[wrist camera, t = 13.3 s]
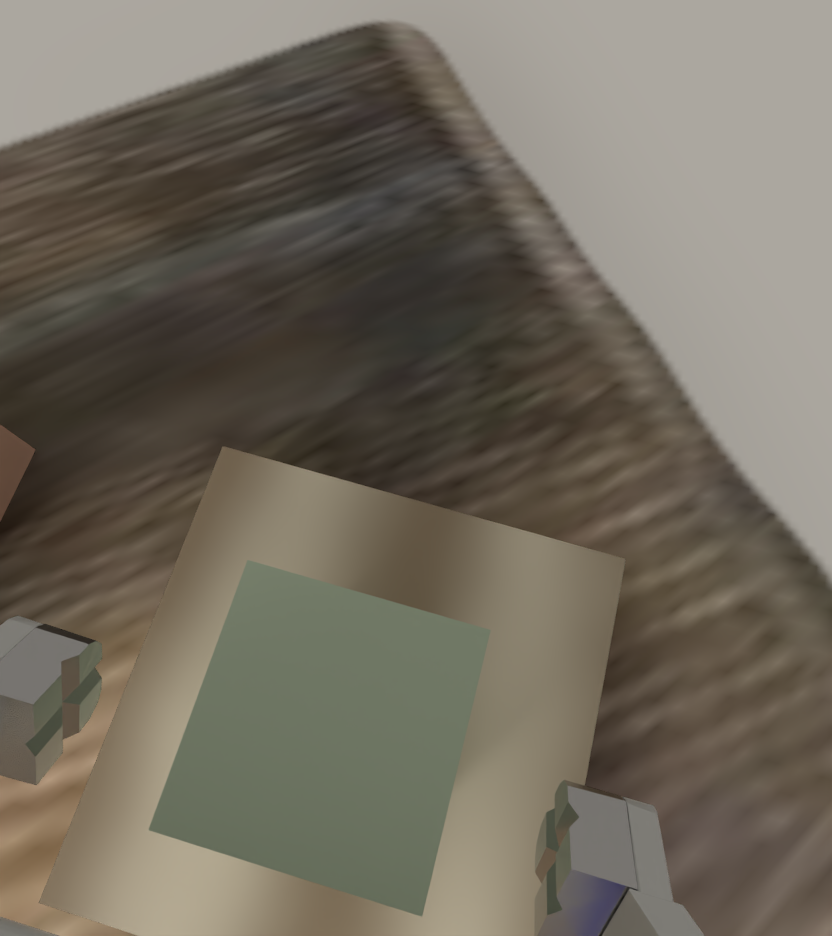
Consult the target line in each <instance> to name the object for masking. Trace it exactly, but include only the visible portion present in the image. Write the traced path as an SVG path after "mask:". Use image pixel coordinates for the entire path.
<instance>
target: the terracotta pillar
mask: <svg viewBox="0 0 832 936" xmlns="http://www.w3.org/2000/svg"><path fill="white" fill-rule="evenodd" d="M35 450H36V449H34V448H33V447H31V446H30V445H29V444H27V443H26V442H24V441H23V440H21V439H20V438H19V437H17V436H16V435H14V434H13V433H12V432H10V431H9V430H7V429H6V428H5V427H3V426H2V425H0V521H1V519H2V517H3V515H4V513H5V511H6V509H7V507H8V505H9V503H10V501H11V499H12V497H13V495H14V493H15V491H16V489H17V487H18V485H19V483H20V481H21V479H22V477H23V475H24V473H25V471H26V469H27V467H28V465H29V463H30V461H31V458H32V456H33V454H34V452H35Z"/></svg>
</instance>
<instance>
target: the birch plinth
mask: <svg viewBox="0 0 832 936" xmlns="http://www.w3.org/2000/svg"><path fill="white" fill-rule="evenodd" d="M247 560H250V561H253V562H257V563H260V564H264V565H267V566H271V567H274V568H278V569H281V570H285V571H288V572H291V573H295V574H298V575H302V576H305V577H309V578H312V579H316V580H319V581H323V582H326V583H330V584H333V585H337V586H340V587H343V588H347V589H350V590H354V591H357V592H361V593H364V594H368V595H371V596H375V597H378V598H382V599H385V600H389V601H392V602H395V603H399V604H402V605H406V606H409V607H413V608H416V609H420V610H423V611H427V612H430V613H434V614H437V615H441V616H444V617H447V618H451V619H454V620H458V621H461V622H465V623H468V624H472V625H475V626H479V627H482V628H486V629H489V630H491V631H490V635H489V639H488V643H487V648H486V652H485V656H484V660H483V664H482V668H481V673H480V677H479V681H478V685H477V689H476V694H475V698H474V702H473V706H472V710H471V714H470V719H469V723H468V727H467V731H466V735H465V740H464V744H463V748H462V752H461V756H460V760H459V765H458V769H457V773H456V777H455V781H454V785H453V790H452V794H451V798H450V802H449V806H448V811H447V815H446V819H445V823H444V827H443V831H442V836H441V840H440V844H439V848H438V852H437V857H436V861H435V865H434V869H433V873H432V877H431V882H430V886H429V890H428V894H427V898H426V902H425V907H424V911H423V915H422V917H421V916H418V915H415V914H412V913H409V912H405V911H402V910H399V909H396V908H393V907H390V906H386V905H383V904H380V903H377V902H374V901H371V900H368V899H364V898H361V897H358V896H355V895H352V894H349V893H345V892H342V891H339V890H336V889H333V888H330V887H326V886H323V885H320V884H317V883H314V882H311V881H307V880H304V879H301V878H298V877H295V876H292V875H288V874H285V873H282V872H279V871H276V870H273V869H270V868H266V867H263V866H260V865H257V864H254V863H251V862H247V861H244V860H241V859H238V858H235V857H232V856H228V855H225V854H222V853H219V852H216V851H213V850H209V849H206V848H203V847H200V846H197V845H194V844H191V843H187V842H184V841H181V840H178V839H175V838H172V837H168V836H165V835H162V834H159V833H156V832H153V831H149V827H150V824H151V821H152V819H153V816H154V813H155V810H156V808H157V805H158V802H159V800H160V797H161V794H162V791H163V789H164V786H165V783H166V781H167V778H168V775H169V772H170V770H171V767H172V764H173V761H174V759H175V756H176V753H177V751H178V748H179V745H180V742H181V740H182V737H183V734H184V732H185V729H186V726H187V723H188V721H189V718H190V715H191V712H192V710H193V707H194V704H195V702H196V699H197V696H198V693H199V691H200V688H201V685H202V683H203V680H204V677H205V674H206V672H207V669H208V666H209V663H210V661H211V658H212V655H213V653H214V650H215V647H216V644H217V642H218V639H219V636H220V634H221V631H222V628H223V625H224V623H225V620H226V617H227V614H228V612H229V609H230V606H231V604H232V601H233V598H234V595H235V593H236V590H237V587H238V585H239V582H240V579H241V576H242V574H243V571H244V568H245V565H246V563H247ZM625 562H626V559H625V558H621V557H617V556H614V555H610V554H607V553H603V552H599V551H596V550H592V549H589V548H585V547H582V546H578V545H574V544H571V543H567V542H564V541H560V540H557V539H553V538H549V537H546V536H542V535H539V534H535V533H532V532H528V531H524V530H521V529H517V528H514V527H510V526H507V525H503V524H499V523H496V522H492V521H489V520H485V519H481V518H478V517H474V516H471V515H467V514H464V513H460V512H456V511H453V510H449V509H446V508H442V507H439V506H435V505H431V504H428V503H424V502H421V501H417V500H414V499H410V498H406V497H403V496H399V495H396V494H392V493H388V492H385V491H381V490H378V489H374V488H371V487H367V486H363V485H360V484H356V483H353V482H349V481H346V480H342V479H338V478H335V477H331V476H328V475H324V474H321V473H317V472H313V471H310V470H306V469H303V468H299V467H295V466H292V465H288V464H285V463H281V462H278V461H274V460H270V459H267V458H263V457H260V456H256V455H253V454H249V453H245V452H242V451H238V450H235V449H231V448H228V447H224V446H223V447H222V449H221V452H220V454H219V457H218V459H217V462H216V464H215V467H214V469H213V472H212V474H211V477H210V479H209V482H208V484H207V487H206V489H205V492H204V494H203V497H202V499H201V502H200V504H199V507H198V509H197V511H196V514H195V516H194V519H193V521H192V524H191V526H190V529H189V531H188V534H187V536H186V539H185V541H184V544H183V546H182V549H181V551H180V554H179V556H178V559H177V561H176V564H175V566H174V569H173V571H172V574H171V576H170V578H169V581H168V583H167V586H166V588H165V591H164V593H163V596H162V598H161V601H160V603H159V606H158V608H157V611H156V613H155V616H154V618H153V621H152V623H151V626H150V628H149V631H148V633H147V636H146V638H145V640H144V643H143V645H142V648H141V650H140V653H139V655H138V658H137V660H136V663H135V665H134V668H133V670H132V673H131V675H130V678H129V680H128V683H127V685H126V688H125V690H124V693H123V695H122V698H121V700H120V703H119V705H118V707H117V710H116V712H115V715H114V717H113V720H112V722H111V725H110V727H109V730H108V732H107V735H106V737H105V740H104V742H103V745H102V747H101V750H100V752H99V755H98V757H97V760H96V762H95V765H94V767H93V769H92V772H91V774H90V777H89V779H88V782H87V784H86V787H85V789H84V792H83V794H82V797H81V799H80V802H79V804H78V807H77V809H76V812H75V814H74V817H73V819H72V822H71V824H70V827H69V829H68V831H67V834H66V836H65V839H64V841H63V844H62V846H61V849H60V851H59V854H58V856H57V859H56V861H55V864H54V866H53V869H52V871H51V874H50V876H49V879H48V881H47V884H46V886H45V889H44V891H43V894H42V896H41V898H40V901H39V903H40V904H43V905H46V906H49V907H52V908H56V909H59V910H62V911H65V912H68V913H71V914H74V915H77V916H80V917H83V918H86V919H89V920H92V921H95V922H98V923H101V924H104V925H107V926H110V927H114V928H117V929H120V930H123V931H126V932H129V933H132V934H135V935H138V936H534V920H535V897H536V895H537V893H538V890H539V888H540V886H541V884H542V883H541V882H540V880H539V878H538V876H537V875H536V873H535V853H536V844H537V839H538V835H539V831H540V827H541V824H542V821H543V819H544V817H545V814H546V812H548V811H550V810H552V809H554V808H555V792H556V790H557V788H558V786H559V784H560V783H561V782H562V781H563V780H567V781H571V782H574V783H578V784H581V785H585V781H586V776H587V770H588V765H589V759H590V754H591V748H592V743H593V737H594V732H595V726H596V721H597V715H598V710H599V704H600V699H601V694H602V688H603V683H604V677H605V672H606V666H607V661H608V655H609V650H610V644H611V639H612V633H613V628H614V622H615V617H616V611H617V606H618V600H619V595H620V589H621V584H622V578H623V573H624V567H625Z"/></svg>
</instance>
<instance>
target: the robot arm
mask: <svg viewBox="0 0 832 936" xmlns="http://www.w3.org/2000/svg"><path fill="white" fill-rule="evenodd" d="M101 659H102V644H101V643H99V642H98V641H96V640H92V639H89V638H86V637H83V636H80V635H77V634H74V633H71V632H68V631H65V630H62V629H59V628H56V627H53V626H50V625H47V624H42V623H39V622H36V621H33V620H30V619H27V618H24V617H21V616H15V617H12V618H10V619H8V620H6V621H5V622H4V623H3V624H1V625H0V775H1V776H5V777H8V778H12V779H16V780H19V781H23V782H26V783H30V784H34V785H37V784H38V783H39V782H40V780H41V779H42V778H43V777H44V775H45V774H46V773H47V772H48V770H49V769H50V768H51V767H52V765H53V764H54V763H55V762H56V760H57V759H58V758H59V757H60V756H61V754H62V753H63V739H65V738H67V737H69V736H72V735H74V734H76V733H78V732H80V730H81V729H82V728H83V727H84V725H85V724H86V723H87V721H88V720H89V719H90V717H91V715H92V713H93V711H94V709H95V707H96V705H97V703H98V700H99V696H100V692H101V683H102V678H101V676H100V675H99V673H98V672H97V670H96V669H95V666H96V665H97V664H98V663H99V662H100V660H101ZM535 873H536V875H537V876H538V878H539V880H540V882H541V883H542V884H541V886H540V888H539V890H538V893H537V895H536V897H535V920H534V936H704V934H703V933H702V931H701V930H700V928H699V927H698V926H697V924H696V923H695V921H694V920H693V919H692V917H691V916H690V914H689V913H688V912H687V910H686V909H685V907H684V906H683V905H681V904H678V903H675V902H674V901H673V896H672V890H671V885H670V879H669V874H668V868H667V863H666V857H665V852H664V846H663V841H662V835H661V830H660V824H659V819H658V814H657V811H656V809H655V808H654V806H653V805H650V804H646V803H643V802H639V801H636V800H633V799H629V798H626V797H621V796H619V795H616V794H612V793H609V792H605V791H602V790H598V789H595V788H592V787H588V786H585V785H581V784H578V783H574V782H571V781H567V780H563V781H562V782H561V783H560V784H559V786H558V788H557V790H556V792H555V808H554V809H552V810H550V811H548V812H546V814H545V817H544V819H543V821H542V824H541V827H540V831H539V835H538V839H537V844H536V853H535ZM0 936H58V935H55V934H52V933H49V932H46V931H43V930H40V929H37V928H34V927H30V926H27V925H24V924H21V923H18V922H15V921H12V920H9V919H6V918H3V917H0Z"/></svg>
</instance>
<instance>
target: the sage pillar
mask: <svg viewBox="0 0 832 936" xmlns="http://www.w3.org/2000/svg"><path fill="white" fill-rule="evenodd" d="M490 631H491V630H489V629H486V628H482V627H479V626H475V625H472V624H468V623H465V622H461V621H458V620H454V619H451V618H447V617H444V616H441V615H437V614H434V613H430V612H427V611H423V610H420V609H416V608H413V607H409V606H406V605H402V604H399V603H395V602H392V601H389V600H385V599H382V598H378V597H375V596H371V595H368V594H364V593H361V592H357V591H354V590H350V589H347V588H343V587H340V586H337V585H333V584H330V583H326V582H323V581H319V580H316V579H312V578H309V577H305V576H302V575H298V574H295V573H291V572H288V571H285V570H281V569H278V568H274V567H271V566H267V565H264V564H260V563H257V562H253V561H250V560H247V563H246V565H245V568H244V571H243V574H242V576H241V579H240V582H239V585H238V587H237V590H236V593H235V595H234V598H233V601H232V604H231V606H230V609H229V612H228V614H227V617H226V620H225V623H224V625H223V628H222V631H221V634H220V636H219V639H218V642H217V644H216V647H215V650H214V653H213V655H212V658H211V661H210V663H209V666H208V669H207V672H206V674H205V677H204V680H203V683H202V685H201V688H200V691H199V693H198V696H197V699H196V702H195V704H194V707H193V710H192V712H191V715H190V718H189V721H188V723H187V726H186V729H185V732H184V734H183V737H182V740H181V742H180V745H179V748H178V751H177V753H176V756H175V759H174V761H173V764H172V767H171V770H170V772H169V775H168V778H167V781H166V783H165V786H164V789H163V791H162V794H161V797H160V800H159V802H158V805H157V808H156V810H155V813H154V816H153V819H152V821H151V824H150V827H149V831H153V832H156V833H159V834H162V835H165V836H168V837H172V838H175V839H178V840H181V841H184V842H187V843H191V844H194V845H197V846H200V847H203V848H206V849H209V850H213V851H216V852H219V853H222V854H225V855H228V856H232V857H235V858H238V859H241V860H244V861H247V862H251V863H254V864H257V865H260V866H263V867H266V868H270V869H273V870H276V871H279V872H282V873H285V874H288V875H292V876H295V877H298V878H301V879H304V880H307V881H311V882H314V883H317V884H320V885H323V886H326V887H330V888H333V889H336V890H339V891H342V892H345V893H349V894H352V895H355V896H358V897H361V898H364V899H368V900H371V901H374V902H377V903H380V904H383V905H386V906H390V907H393V908H396V909H399V910H402V911H405V912H409V913H412V914H415V915H418V916H421V917H422V915H423V911H424V907H425V902H426V898H427V894H428V890H429V886H430V882H431V877H432V873H433V869H434V865H435V861H436V857H437V852H438V848H439V844H440V840H441V836H442V831H443V827H444V823H445V819H446V815H447V811H448V806H449V802H450V798H451V794H452V790H453V785H454V781H455V777H456V773H457V769H458V765H459V760H460V756H461V752H462V748H463V744H464V740H465V735H466V731H467V727H468V723H469V719H470V714H471V710H472V706H473V702H474V698H475V694H476V689H477V685H478V681H479V677H480V673H481V668H482V664H483V660H484V656H485V652H486V648H487V643H488V639H489V635H490Z"/></svg>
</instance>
